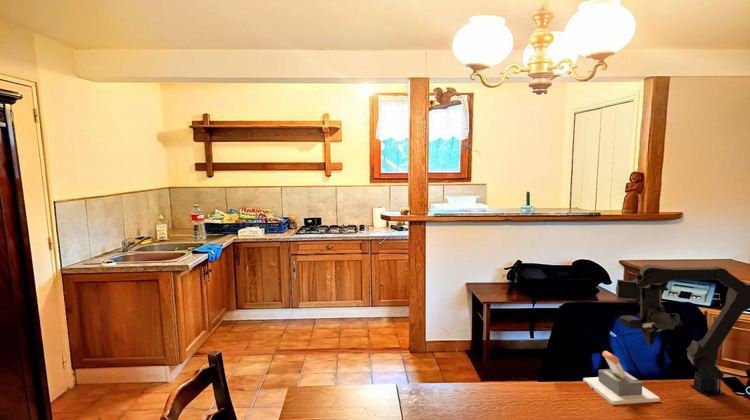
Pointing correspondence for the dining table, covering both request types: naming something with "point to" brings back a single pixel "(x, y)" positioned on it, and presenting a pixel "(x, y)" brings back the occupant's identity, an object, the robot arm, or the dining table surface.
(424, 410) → the dining table surface
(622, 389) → the box
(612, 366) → the breaker lever
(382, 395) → the dining table surface
